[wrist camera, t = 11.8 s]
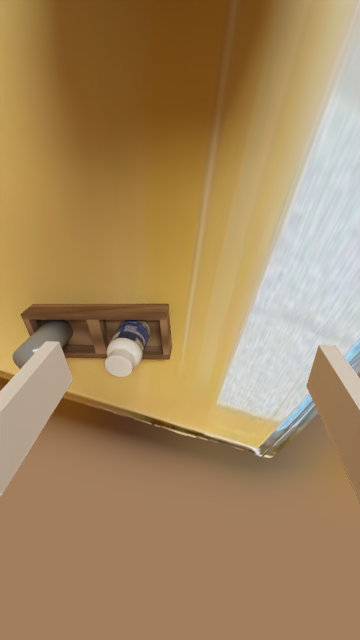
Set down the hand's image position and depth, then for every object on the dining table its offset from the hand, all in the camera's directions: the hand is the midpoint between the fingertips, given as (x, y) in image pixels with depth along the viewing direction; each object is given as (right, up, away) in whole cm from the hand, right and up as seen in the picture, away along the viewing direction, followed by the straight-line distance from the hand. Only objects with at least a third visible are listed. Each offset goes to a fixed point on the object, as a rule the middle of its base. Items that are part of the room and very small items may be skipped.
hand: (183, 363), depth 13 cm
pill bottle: (-8, +1, +31) cm, 32 cm away
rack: (-14, +1, +32) cm, 35 cm away
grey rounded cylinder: (-22, +1, +32) cm, 39 cm away
